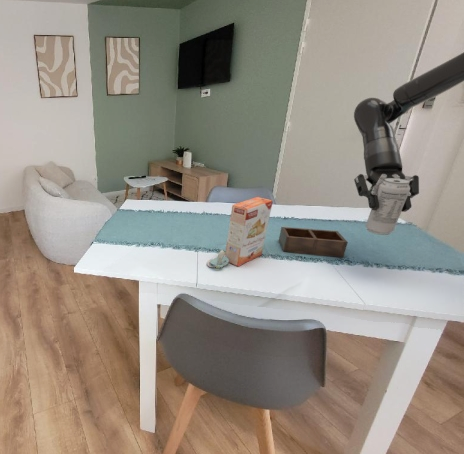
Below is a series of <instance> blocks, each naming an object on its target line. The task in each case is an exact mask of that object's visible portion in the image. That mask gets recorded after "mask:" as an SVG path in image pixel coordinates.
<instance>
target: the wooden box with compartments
mask: <svg viewBox="0 0 464 454" xmlns="http://www.w3.org/2000/svg"><path fill="white" fill-rule="evenodd" d="M279 231H280V232H279V236H278V243H279V245H280V248H281V249H282V252H283V253H291V254H301V255H311V256H322V257H331V258H341V259H344V255H345V253H346V251H347V246H348V244H349V242H348V241H347V239H346V238H344V236H343V235H342V234H341V233H340V232H339V231H338V230H329V229H328V230H327V229H316V228H315V229H314V228H302V227H301V228H300V227H288V226H281V227H280V230H279Z"/></svg>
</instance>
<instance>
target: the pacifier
mask: <svg viewBox="0 0 464 454" xmlns="http://www.w3.org/2000/svg"><path fill="white" fill-rule="evenodd" d="M225 252H226V251H225V250H224V249H221V250H220V251H219V252H218V254H217V256H216V257H214V258H212V259H209V260H208V261H207V262H206V266H207V267H209V268H215V267H216V269H221V268H223V267H225V266H226V265H228V264H229V259H228V258H227V257H225ZM220 267H221V268H220Z"/></svg>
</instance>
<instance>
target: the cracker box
mask: <svg viewBox="0 0 464 454" xmlns="http://www.w3.org/2000/svg"><path fill="white" fill-rule="evenodd" d="M273 202H274V201H273V200H271V199H268V198H263V197H259V196H256V197H253V198H249V199H247V200H243V201H241V202H237V203H234V204H232V205H231V213H230V219H229V225H228V231H227V240H226V245H225V251H224V252H225V255H224V256H225V257H227V258H228V259H229V262H228V264H229V263H230V264H232V265H233V266H236V267H240V266H242V265H244V264H246V263H247V262H250V261H252V260H254V259H257V258H258V257H260V256H262V255H263V250H264V245H265V240H266V235H267V232H268V226H269V222H270V216H271V211H272V207H273Z"/></svg>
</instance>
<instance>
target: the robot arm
mask: <svg viewBox="0 0 464 454" xmlns="http://www.w3.org/2000/svg"><path fill="white" fill-rule="evenodd" d="M463 82H464V52H462V53H460V54H458V55H456V56H454V57H453V58H451V59H449V60H447V61H445V62H443V63H441V64H439V65H437V66H435V67H433V68H432V69H430V70H428V71H426V72H424V73H422V74H420V75H417V76H416V77H414V78H412V79H411V80H409V81H406V82H405V83H403V84H402V85H400V86H399V87H397V88H395V89H394V90H393V93H392V98H393V100H392V101H389V102H386V101H384V100H382V99H380V98H378V97H367V98H365V99H362V100H361V101H360V102H359V103H358V104H357V106H356V107H355V108H354V112H353V120H354V123H355V125H356V127H357V129H358V131H359V133H360V134H361V137H362V144H363V161H364V166H365V174H366V175H364V174H362V173H360V174H358V175H357V176H356V177H355V178H354V179H353V181H354V184H355V187H356V190H357V193H358V196H359V197H366V198H367V202H368V203H367V204H368V207H369V209H370V210H371V209H372V210H377V209H378V208H379V201H378V195H376V194H377V192H378V189H379V186H380V184H381V183H383V182H384V181H385V179H386V178H397V179H404V180H408V181H409V186H410V191H409V193H408V196H407V198H406V201H405V203H404V206H403V208H402V211H401V213H406V212H407V211H409V210H411V208H412V200H411V199H413V198H414V197H415V196H418V195H419V194H420V177H419V175H417V174H414V175H412V176H408V175H405V174H404V173H403V163H402V162H403V161H402V158H401V152H400V147H399V144H398V143H397V137H396V133H395V129H394V127H393V126H392V123H393V122H395V121H396V120H397V119H399V118H400V117H401V116H403V115H405V114H406V113H407V112H409V111H410V110H411V109H412V108H414V107H416V106H418V105H421V104H422V103H423V104H424V103H425V102H427V101H429V100H431V99H434V98H435V97H437V96H439V95H441V94H444V93H445V92H447V91H450V90H451V89H453V88H455V87H456V86H458V85H460V84H462V83H463ZM367 182H368V183H369V184H370V185H371V186H370V188H368V184H367Z"/></svg>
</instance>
